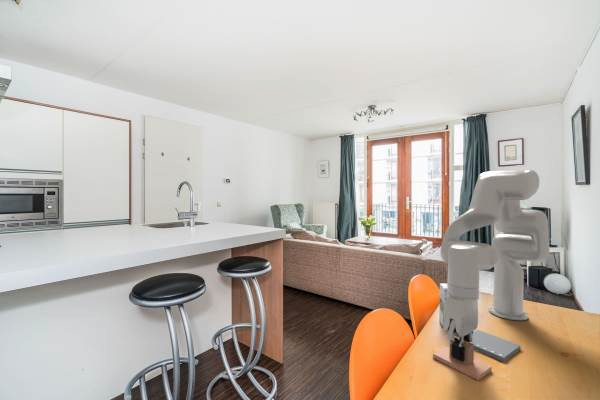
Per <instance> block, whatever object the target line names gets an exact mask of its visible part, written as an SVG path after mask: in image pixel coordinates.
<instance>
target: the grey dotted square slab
mask: <svg viewBox="0 0 600 400" xmlns="http://www.w3.org/2000/svg"><path fill="white" fill-rule="evenodd" d="M470 343H472V344H474V351H478V352H479V353H482V354H484V355H487V356H489V357H492V358H494V359H495V360H496V359H497V360H499V361H501V362H503V363H504V362H506V361H507V360H509V359H510V358H511V357H512V356H513V355H515V354H516V353H518V352H519V351H520V350H521V344H518V343H516V342H512V341H510V340H508V339H507V340H506V339H504V338H501V337H499V336H496V335H493V334H490V333H488V332H486V331H483V330H480V329H476V330H474V331H473V334H472V342H470Z"/></svg>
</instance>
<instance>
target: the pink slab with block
mask: <svg viewBox="0 0 600 400" xmlns="http://www.w3.org/2000/svg"><path fill="white" fill-rule="evenodd" d="M455 337H456V338H458V339H459V338H460V337H458V336H455ZM463 347H465V354H464V362H461V361H459V360H457V359H455V358H453V357H452V356H451V349H452V343H451V340H449V346H448V345H447V346H445V347H442V348H441V349H439V350H437V351H435V352H433V354H432V358H433V359H435V360H438V361H439V362H441V363H443V364H444V365H447V366H449V367H451V368H453V369H454V370H457V371H459V372H461V373H462V374H464V375H467V376H469V378H473V379H475V380H477V381H480V380H481V379H483V378H484V377H485V376H487V375H488V374H489V373H491V371H492V366H491V365H489V364H487V363H485V362H482V361H481V360H478V359H476V358H475V349H474V344H472V343H470V342H467V341H465V340H463Z"/></svg>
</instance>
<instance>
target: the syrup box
mask: <svg viewBox="0 0 600 400" xmlns="http://www.w3.org/2000/svg"><path fill="white" fill-rule="evenodd" d="M447 296H448V294H447V283H446V282H445V283H443V282H442V283H439V323H440V325H441V326H442V328H443V329H444V312H445V304H446V299H447Z"/></svg>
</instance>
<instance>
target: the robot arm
mask: <svg viewBox="0 0 600 400" xmlns="http://www.w3.org/2000/svg"><path fill="white" fill-rule="evenodd" d="M539 186H540V177H539V175H538V172H537V171H536V170H532V169H519V170H517V169H516V170H494V171H493V170H491V171H484V172H482V173H480V174H479V175H478V177H477V180H476V183H475V186H474V189H473V193H472V197H471V201H470V203H469V207H468V210H467V211H466V212H464V213H463V214H461V215H459V216H458V217H457V218H455V219H454V220H453V221H452V222H451V223H450V224H449V225H448V227H447V228H446V230H445V233H444V235H443V238H442V242H441V246H440V256H441V259H442V261H444V263H446V264H447V294H448V296H447V299H446V304H445V312H444V328H443V331H444V332H447V335H446V339H447V340H449V341H450V340H451V343H452V349H451V356H452V357H453V358H455V359H457V360H459V361H461V362H464V354H465V347H463V340H465V341H467V342H472V334H473V332H474V331H476V330H478V329H477V328H478V325H479V306H478V305H479V304H478V300H480V271H488V270H491V269H492V268H493V296H492V297H493V300H492V305H489V306H488V312H489V313H490V314H492V315H494V316H496V317H500V318H503V319H506V320H511V321H526V320H528V318H529V314H528V313H527V312H525V311H524V289H525V288H524V287H525V286H524V283H525V280H524V279H525V272H524V268H522V266H521V264H520V263H519V262H518V261H524V262H532V263H544V262H547V260H548V259H549V257H550V237H549V236H550V233H549V232H550V231H549V221H548V217H547V215H546V213H545V212H544V211H542V210H537V209H523V208H521V201H526V200H529V199H530V198H532V197H533V196H534V195H535V194H536V193H537V192H538V190H539ZM491 225H494V228H495V230H496V231H497V232H499V233H500V234H496V235H494V236H493V238H492V240H491V245H490V244H488V243H484V242H483V243H482V242H475V241H470V240H469V241H468V240H460V237H461V236H462V235H464V234H466V233H468V232H469V231H472V230H477V229H479V228H483V227H487V226H491ZM456 337H457V338H456ZM458 338H459V339H458Z"/></svg>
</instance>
